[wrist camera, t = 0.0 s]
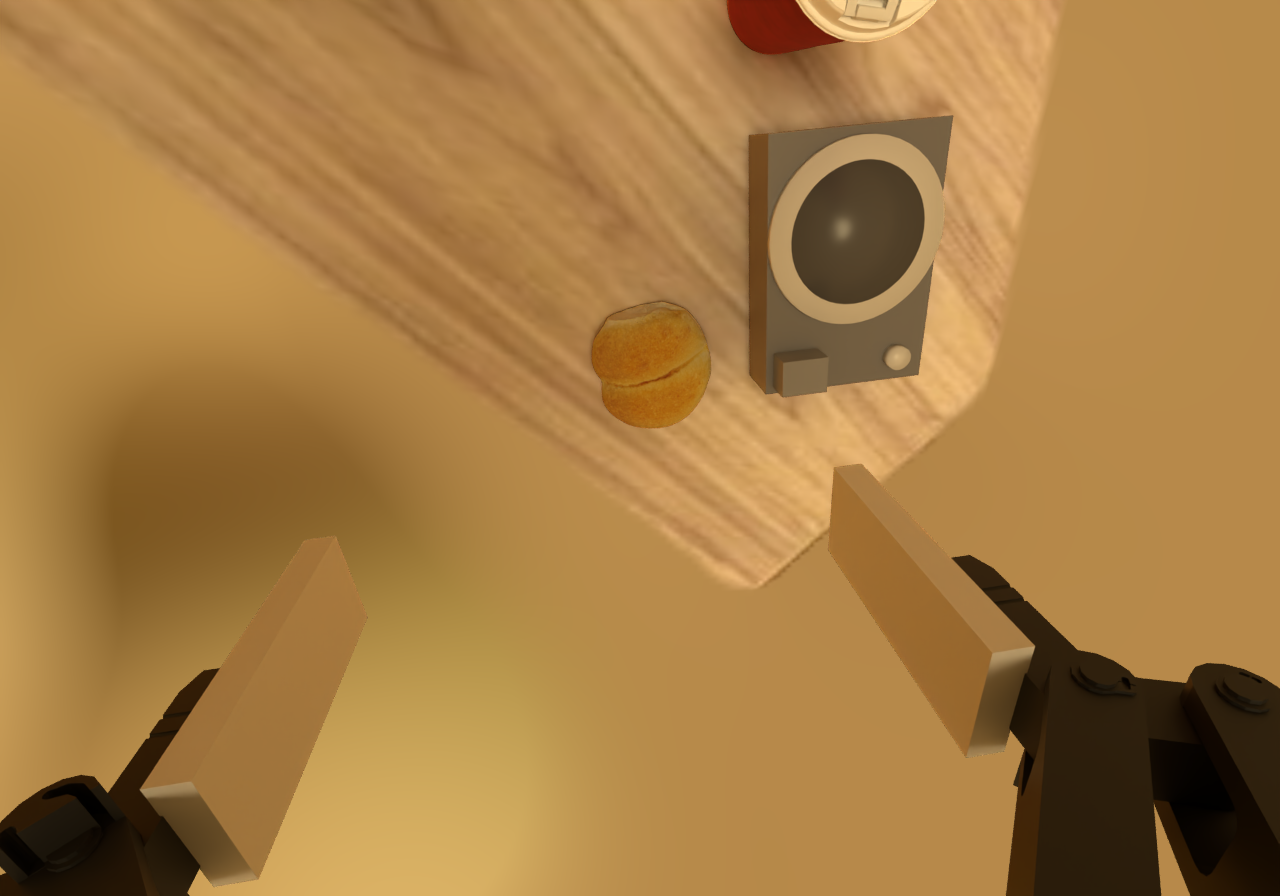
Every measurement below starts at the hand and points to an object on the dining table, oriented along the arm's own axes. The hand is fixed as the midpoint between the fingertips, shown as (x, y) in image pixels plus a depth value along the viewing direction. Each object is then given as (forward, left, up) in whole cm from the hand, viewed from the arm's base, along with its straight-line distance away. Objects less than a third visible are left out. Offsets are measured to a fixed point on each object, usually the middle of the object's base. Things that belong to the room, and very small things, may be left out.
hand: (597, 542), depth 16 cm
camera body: (-1, +18, -28) cm, 33 cm away
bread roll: (+5, +5, -28) cm, 29 cm away
